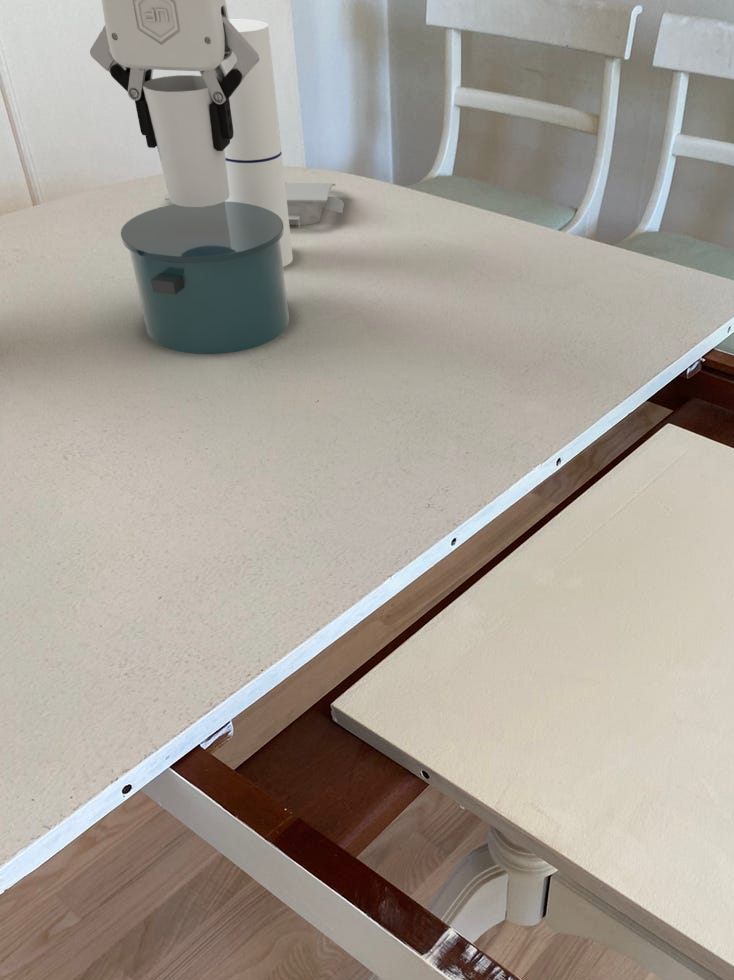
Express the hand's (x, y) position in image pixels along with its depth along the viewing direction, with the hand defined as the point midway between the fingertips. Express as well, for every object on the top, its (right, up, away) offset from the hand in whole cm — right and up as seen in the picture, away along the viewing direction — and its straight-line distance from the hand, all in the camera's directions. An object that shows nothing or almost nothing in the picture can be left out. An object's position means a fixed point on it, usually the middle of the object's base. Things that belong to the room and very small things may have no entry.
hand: (189, 143), depth 93 cm
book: (-2, +10, +39) cm, 40 cm away
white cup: (0, -4, +3) cm, 5 cm away
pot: (0, -14, +12) cm, 18 cm away
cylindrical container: (+1, -2, +26) cm, 26 cm away
